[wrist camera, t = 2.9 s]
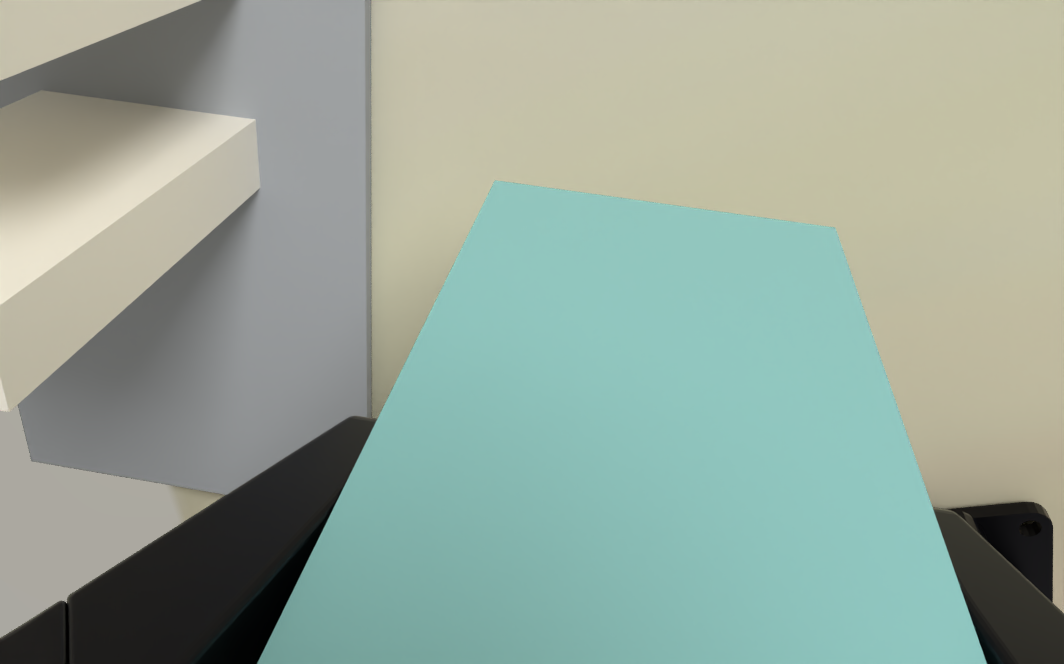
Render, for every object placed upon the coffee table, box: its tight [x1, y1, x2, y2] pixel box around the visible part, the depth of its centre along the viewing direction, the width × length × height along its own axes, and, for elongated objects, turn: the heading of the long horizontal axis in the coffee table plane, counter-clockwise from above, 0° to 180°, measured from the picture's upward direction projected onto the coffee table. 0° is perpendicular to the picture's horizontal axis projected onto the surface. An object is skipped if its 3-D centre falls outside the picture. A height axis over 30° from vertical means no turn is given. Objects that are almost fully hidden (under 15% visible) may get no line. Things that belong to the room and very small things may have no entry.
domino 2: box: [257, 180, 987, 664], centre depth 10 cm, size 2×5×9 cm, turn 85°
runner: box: [0, 0, 371, 495], centre depth 19 cm, size 26×10×1 cm, turn 175°
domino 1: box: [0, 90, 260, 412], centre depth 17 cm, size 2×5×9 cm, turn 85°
